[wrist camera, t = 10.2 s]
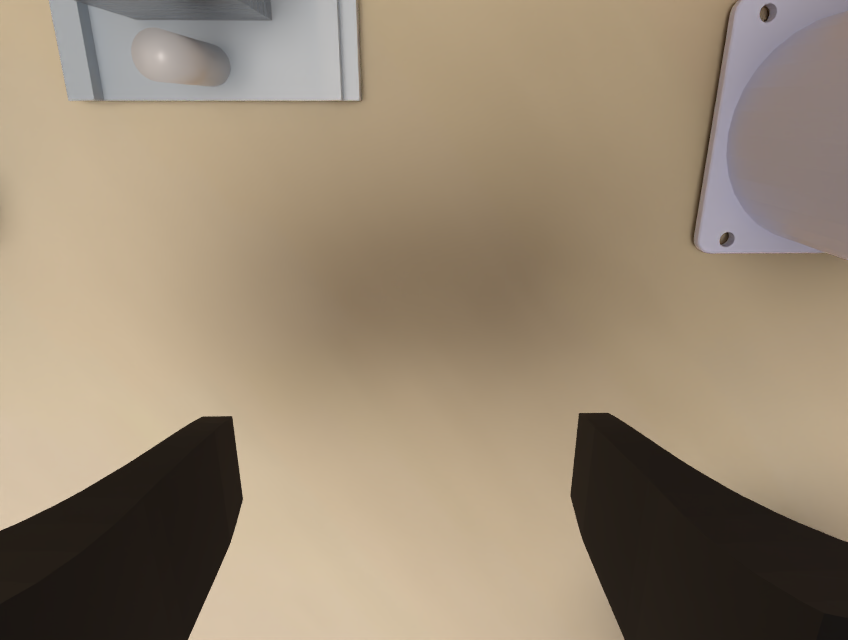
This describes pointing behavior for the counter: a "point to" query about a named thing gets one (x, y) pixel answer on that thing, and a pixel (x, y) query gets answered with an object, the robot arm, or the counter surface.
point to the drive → (187, 9)
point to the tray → (211, 55)
